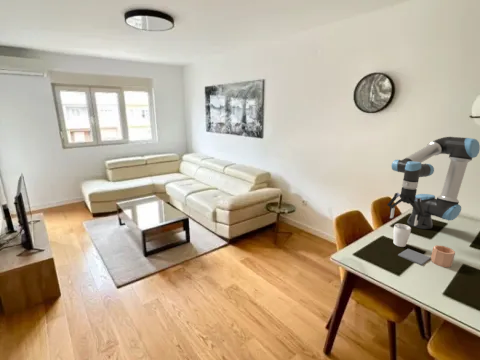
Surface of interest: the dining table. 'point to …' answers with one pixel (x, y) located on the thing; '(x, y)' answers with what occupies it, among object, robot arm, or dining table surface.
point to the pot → (442, 256)
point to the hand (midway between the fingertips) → (403, 221)
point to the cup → (401, 234)
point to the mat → (414, 256)
